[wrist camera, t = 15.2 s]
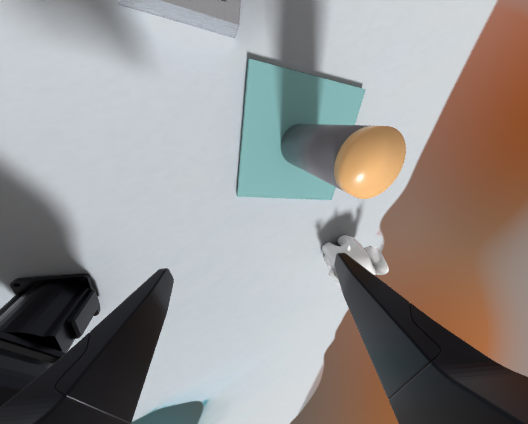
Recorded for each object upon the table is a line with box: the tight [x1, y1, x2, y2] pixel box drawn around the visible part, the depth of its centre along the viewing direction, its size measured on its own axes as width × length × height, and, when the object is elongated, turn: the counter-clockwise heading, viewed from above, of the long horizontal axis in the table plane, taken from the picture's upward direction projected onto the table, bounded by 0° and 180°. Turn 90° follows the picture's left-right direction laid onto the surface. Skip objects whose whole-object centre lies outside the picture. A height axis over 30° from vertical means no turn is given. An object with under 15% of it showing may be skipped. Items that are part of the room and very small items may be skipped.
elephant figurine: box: [322, 235, 389, 290], centre depth 28 cm, size 8×10×7 cm
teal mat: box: [237, 59, 366, 200], centre depth 21 cm, size 13×13×1 cm
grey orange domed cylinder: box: [281, 124, 406, 199], centre depth 16 cm, size 4×4×11 cm
